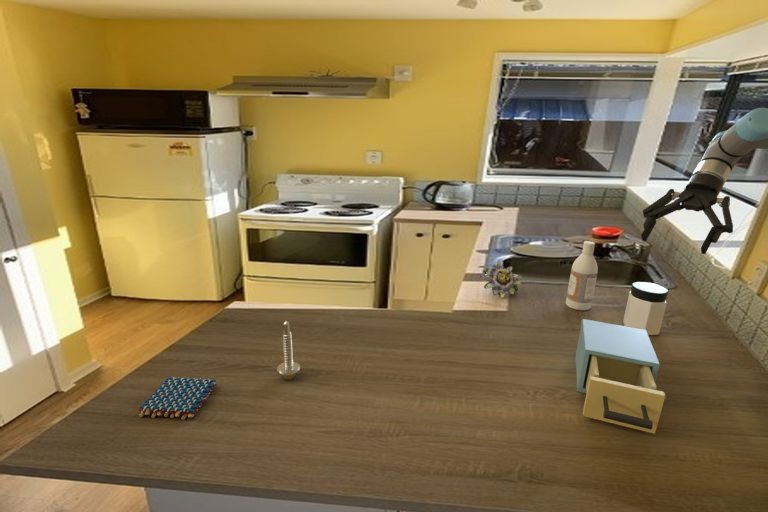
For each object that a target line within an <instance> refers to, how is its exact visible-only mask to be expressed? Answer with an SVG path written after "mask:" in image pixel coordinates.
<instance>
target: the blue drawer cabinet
mask: <svg viewBox="0 0 768 512" xmlns="http://www.w3.org/2000/svg"><path fill="white" fill-rule="evenodd" d="M578 336H579V337H578V341H577V347H576V352H575V356H574V357H575V374H576V391H577V392H578V393H583V394H586V384H585V375H586V370H587V365H588V360H589V355H590V354H591V355H596V356H601V357H606V358H611V359H616V360H621V361H626V362H631V363H636V364H641V365H646V366H649V367H650V370H651V373H652V376H653V378H654V381H655V382H656V380H657V376H658V373H659V370H660V369H659V368H660V365H661V363H660V362H659V359H658V356H657V354H656V350H655V348H654V346H653V344H652V341H651V338H650V335H648V333H647V331H646V330H643V329H637V328H632V327H626V326H624V325H619V324H615V323H608V322H603V321H597V320H591V319H585V318H582V320H581V326H580V331H579V335H578Z"/></svg>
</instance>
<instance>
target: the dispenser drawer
mask: <svg viewBox="0 0 768 512" xmlns="http://www.w3.org/2000/svg"><path fill="white" fill-rule="evenodd" d="M585 384H586V393H585V395H586V396H585V400H584V403H583V408H582V416H583V417H586V418H589V419H594V420H598V421H602V422H606V423H610V424H614V425H618V426H622V427H625V428H629V429H634V430H639V431H642V432H646V433H651V434H654V435H655V434H656V432H657V428H658V424H659V421H660V417H661V414H662V410H663V406H664V403H665V399H666V394H665V391H662V390H657V388H658V387H657V385H656V381H654V378H653V376H652V373H651V370H650V367H649V366H646V365H641V364H636V363H631V362H626V361H621V360H616V359H611V358H606V357H601V356H596V355H591V354H590V355H589V360H588V365H587V370H586V375H585Z"/></svg>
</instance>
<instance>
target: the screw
mask: <svg viewBox="0 0 768 512" xmlns="http://www.w3.org/2000/svg"><path fill="white" fill-rule="evenodd" d="M282 328H283V330H282V349H283V350H282V351H283V362H282V363H280V364H279V365H278V366H277V367H276V372H277V374H278V375H280V376H282V378H283V379H284V380H285V381H291V380H293V379H295V378H296V377H297V374H298V373H299V372H300V371H301V368H302V366H301V365H300V364H299V362H296V361H294V355H293V354H294V352H293V340H292V339H293V337H292V336H293V335H292V331H291V325H290V321H287V320H285V321H284V322H283V327H282Z"/></svg>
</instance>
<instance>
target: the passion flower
mask: <svg viewBox="0 0 768 512" xmlns="http://www.w3.org/2000/svg"><path fill="white" fill-rule="evenodd" d="M482 272H483V273H484V274H483V277H484V278H486V279H487V280H489V281H488V282H486V283H485V284H484V285H483V288H484V289H486V290H487V289H490V288H491V292H492V295H493V296H497V295H498V296H499V298H500V299H504V298H505V296H506V293H509V294H510V295H514V294H515V292H516V293H517V292H518V291H519V287H518V286H519V285H521V283H522V282H521V281H520V280H519V279H518V278H519V275H518V274H517V273H514V272H513V266H508V267H505V265H502V262H500V261H497V264H496V265H495V266H494V267H492V268H490V267H486V268H485V269H483V271H482Z"/></svg>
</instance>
